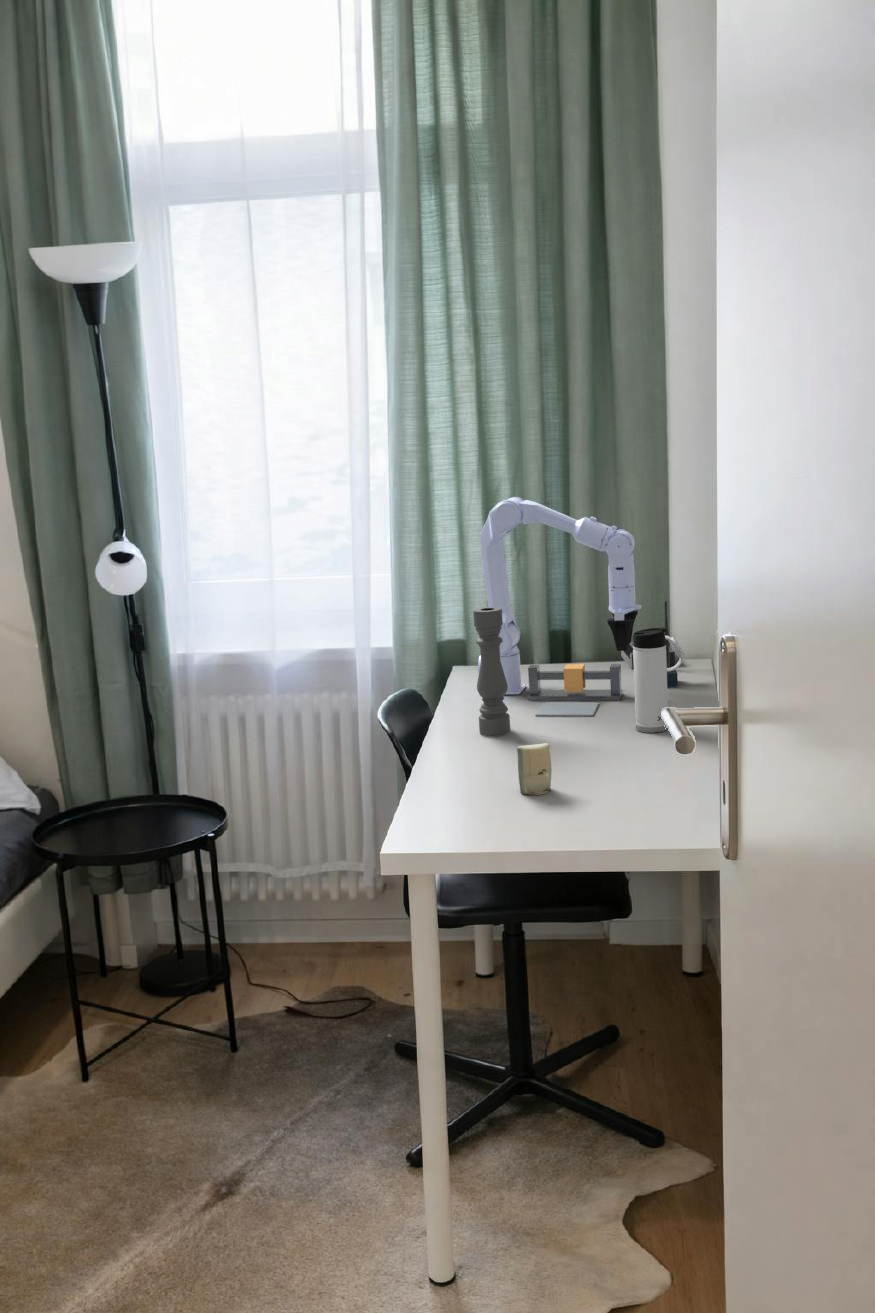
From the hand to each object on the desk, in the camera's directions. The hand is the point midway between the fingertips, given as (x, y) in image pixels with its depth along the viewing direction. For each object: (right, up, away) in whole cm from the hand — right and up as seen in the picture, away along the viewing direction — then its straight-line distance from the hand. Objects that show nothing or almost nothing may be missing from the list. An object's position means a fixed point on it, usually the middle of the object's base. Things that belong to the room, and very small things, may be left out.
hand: (623, 646), depth 249 cm
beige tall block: (-25, -25, -61) cm, 70 cm away
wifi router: (+11, -4, +28) cm, 30 cm away
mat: (-14, -14, -11) cm, 22 cm away
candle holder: (-30, -18, -23) cm, 42 cm away
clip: (-11, -9, -1) cm, 14 cm away
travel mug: (+1, -16, -29) cm, 33 cm away
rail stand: (-11, -11, 0) cm, 16 cm away
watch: (+11, -9, +6) cm, 15 cm away
